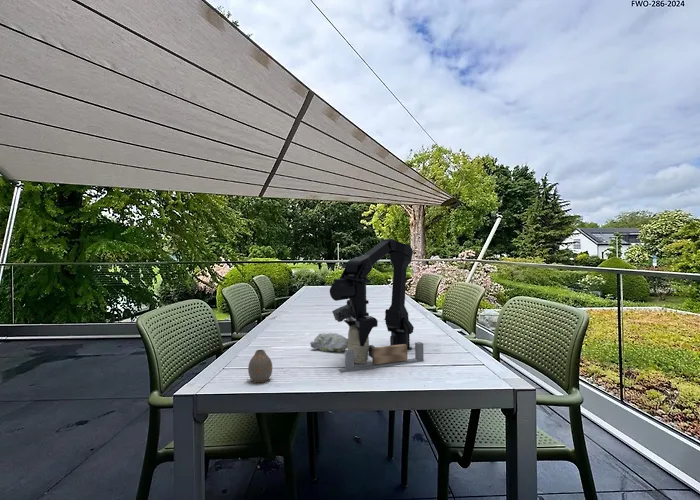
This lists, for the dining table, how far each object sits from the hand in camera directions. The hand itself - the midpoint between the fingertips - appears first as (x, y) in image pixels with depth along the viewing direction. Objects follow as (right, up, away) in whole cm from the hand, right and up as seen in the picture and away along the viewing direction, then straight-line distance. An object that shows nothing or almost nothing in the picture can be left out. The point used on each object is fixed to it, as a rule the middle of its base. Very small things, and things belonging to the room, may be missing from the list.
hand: (358, 343), depth 125 cm
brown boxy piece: (+9, -5, 0) cm, 11 cm away
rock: (-10, -7, +15) cm, 20 cm away
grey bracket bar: (+8, -6, -4) cm, 10 cm away
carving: (0, -6, 0) cm, 6 cm away
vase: (-29, -7, -15) cm, 34 cm away
